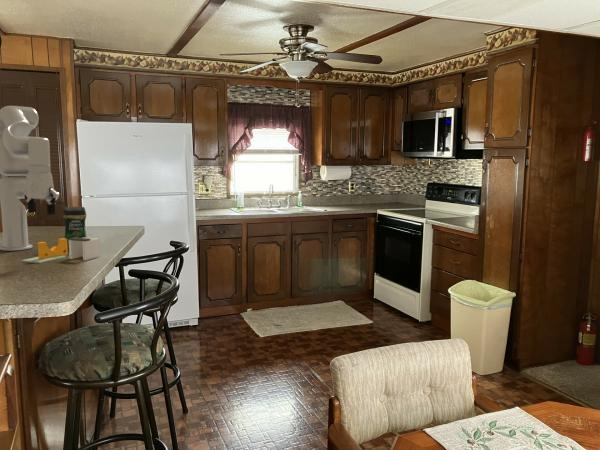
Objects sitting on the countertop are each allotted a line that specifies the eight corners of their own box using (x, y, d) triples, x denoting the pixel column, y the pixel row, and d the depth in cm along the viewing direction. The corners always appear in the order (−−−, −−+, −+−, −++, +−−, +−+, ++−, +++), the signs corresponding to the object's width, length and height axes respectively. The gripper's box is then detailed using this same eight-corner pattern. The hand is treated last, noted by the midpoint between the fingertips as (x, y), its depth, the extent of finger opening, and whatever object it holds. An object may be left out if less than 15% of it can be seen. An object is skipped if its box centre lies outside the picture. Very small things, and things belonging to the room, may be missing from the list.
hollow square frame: (69, 258, 200) (68, 238, 199) (84, 255, 207) (83, 235, 206) (85, 260, 197) (84, 239, 196) (100, 256, 205) (99, 236, 204)
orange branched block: (60, 253, 208) (59, 238, 207) (67, 254, 207) (67, 238, 206) (35, 258, 197) (34, 242, 196) (43, 259, 196) (42, 243, 195)
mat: (22, 261, 194) (22, 260, 194) (49, 255, 206) (49, 254, 206) (40, 263, 191) (40, 261, 191) (66, 257, 203) (66, 255, 203)
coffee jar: (63, 249, 220) (61, 207, 218) (65, 246, 228) (63, 206, 225) (87, 248, 224) (85, 207, 221) (88, 245, 231) (86, 205, 229)
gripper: (14, 168, 193) (16, 212, 196) (49, 171, 187) (51, 216, 190) (30, 168, 200) (32, 210, 203) (64, 170, 194) (66, 214, 197)
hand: (41, 213), depth 196 cm, fingers open, 9 cm apart
